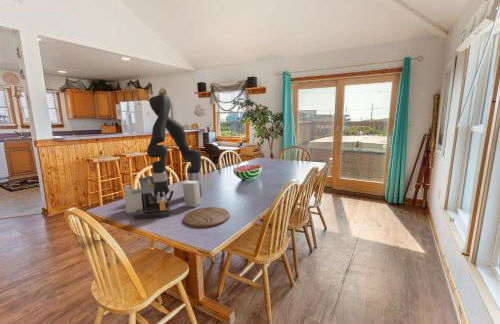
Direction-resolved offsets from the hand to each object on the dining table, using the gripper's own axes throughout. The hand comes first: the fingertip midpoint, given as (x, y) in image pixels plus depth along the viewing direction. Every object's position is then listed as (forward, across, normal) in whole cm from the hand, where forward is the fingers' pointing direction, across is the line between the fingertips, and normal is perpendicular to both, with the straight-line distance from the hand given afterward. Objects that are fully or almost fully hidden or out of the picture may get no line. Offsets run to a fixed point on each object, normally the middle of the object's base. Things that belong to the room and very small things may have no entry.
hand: (163, 208), depth 145 cm
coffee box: (+4, +12, -31) cm, 34 cm away
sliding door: (+3, +17, -7) cm, 18 cm away
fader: (+1, 0, 0) cm, 1 cm away
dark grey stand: (+4, +12, -11) cm, 17 cm away
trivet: (+5, -24, +12) cm, 28 cm away
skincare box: (+4, -16, -11) cm, 20 cm away
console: (+4, +6, 0) cm, 7 cm away
